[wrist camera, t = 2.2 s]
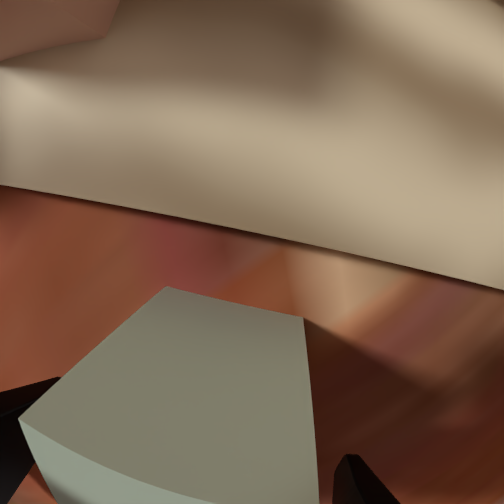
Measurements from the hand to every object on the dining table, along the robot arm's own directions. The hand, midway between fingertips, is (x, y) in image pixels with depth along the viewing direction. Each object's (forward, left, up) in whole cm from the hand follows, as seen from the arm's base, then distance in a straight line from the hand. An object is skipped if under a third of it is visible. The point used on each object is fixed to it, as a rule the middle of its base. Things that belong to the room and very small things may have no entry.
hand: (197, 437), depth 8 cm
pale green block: (0, 0, -3) cm, 3 cm away
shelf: (+12, +2, -3) cm, 12 cm away
